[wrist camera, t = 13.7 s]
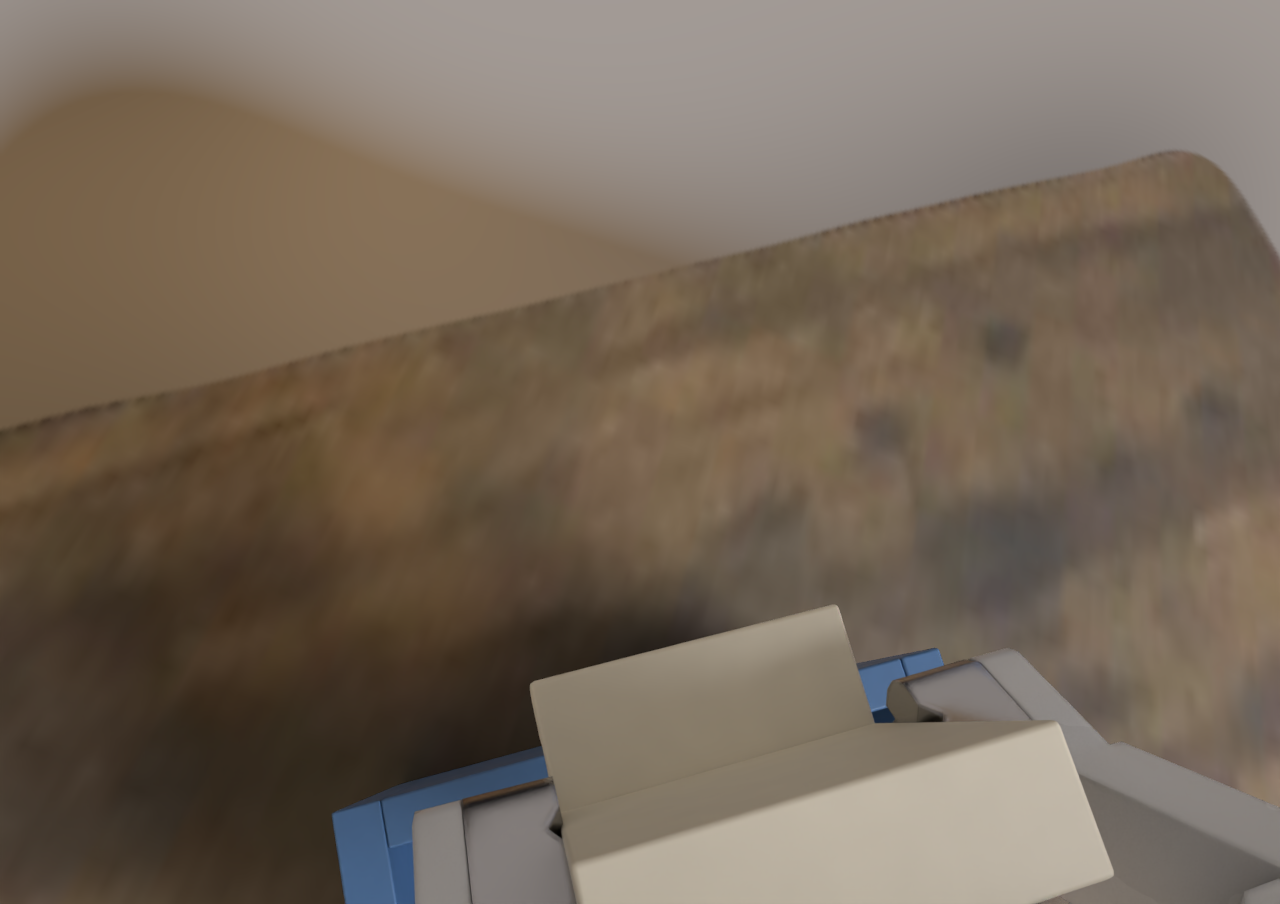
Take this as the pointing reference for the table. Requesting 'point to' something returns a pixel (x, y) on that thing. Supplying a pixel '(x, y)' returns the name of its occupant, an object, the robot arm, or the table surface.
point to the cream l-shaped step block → (800, 783)
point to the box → (383, 822)
